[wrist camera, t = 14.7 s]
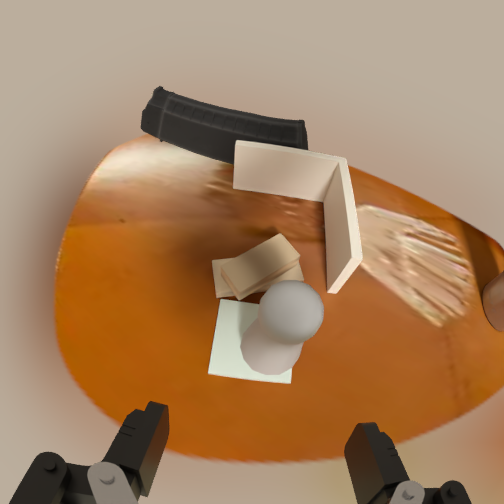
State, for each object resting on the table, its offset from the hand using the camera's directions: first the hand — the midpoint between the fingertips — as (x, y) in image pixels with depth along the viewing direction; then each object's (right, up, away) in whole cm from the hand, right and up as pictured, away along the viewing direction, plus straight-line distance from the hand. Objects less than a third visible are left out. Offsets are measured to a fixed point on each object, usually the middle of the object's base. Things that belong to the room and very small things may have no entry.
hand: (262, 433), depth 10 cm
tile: (0, -2, +19) cm, 19 cm away
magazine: (-6, +24, +36) cm, 43 cm away
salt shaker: (+1, -3, +18) cm, 19 cm away
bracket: (+3, +10, +27) cm, 29 cm away
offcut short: (0, +5, +22) cm, 23 cm away
